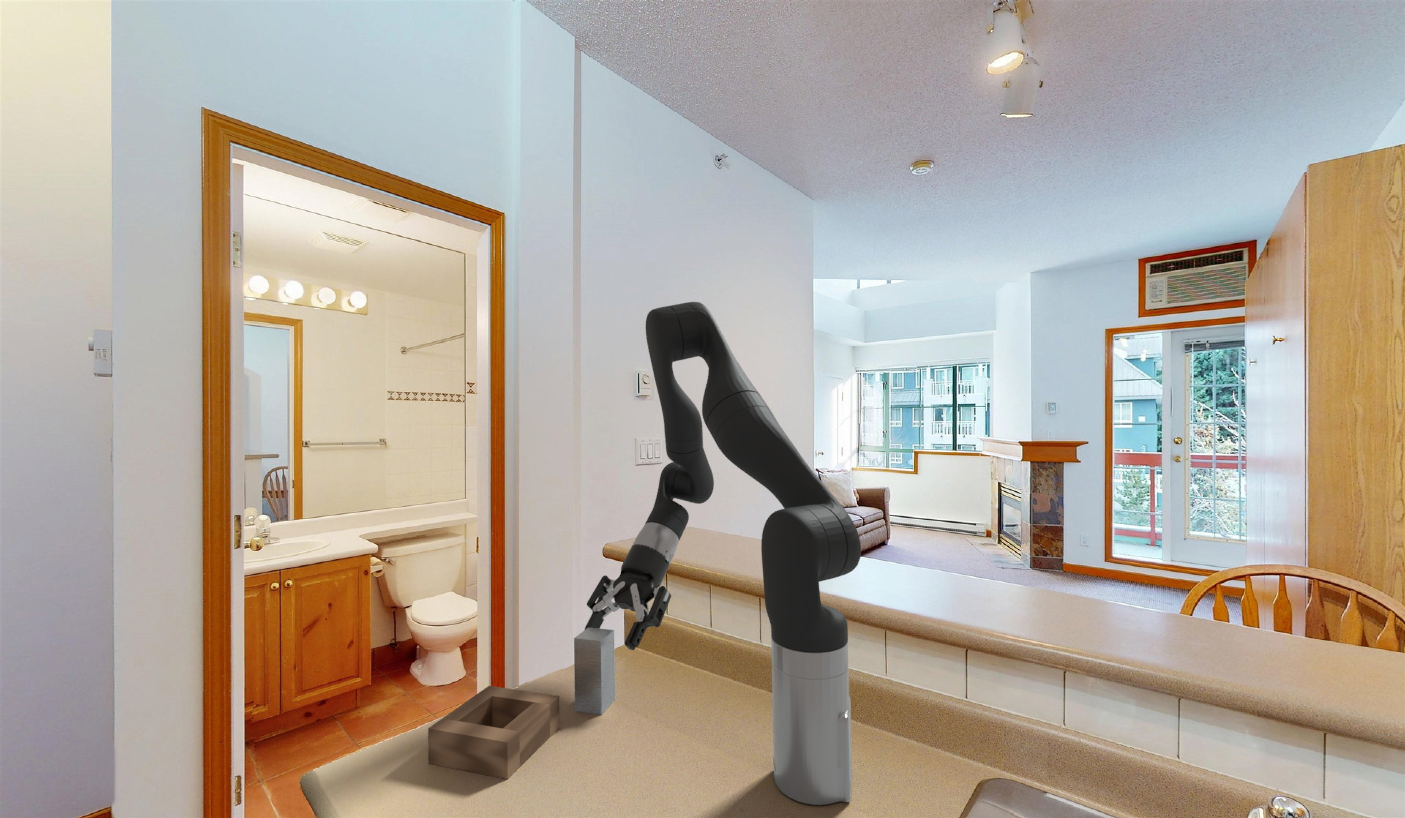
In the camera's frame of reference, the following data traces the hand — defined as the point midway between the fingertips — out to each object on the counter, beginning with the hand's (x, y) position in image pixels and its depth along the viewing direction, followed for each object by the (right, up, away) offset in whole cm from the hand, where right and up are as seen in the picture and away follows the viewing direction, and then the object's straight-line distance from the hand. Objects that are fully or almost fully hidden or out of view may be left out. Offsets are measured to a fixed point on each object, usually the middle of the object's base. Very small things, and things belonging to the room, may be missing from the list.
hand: (608, 642), depth 89 cm
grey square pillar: (-2, -9, -3) cm, 9 cm away
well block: (-13, -9, -13) cm, 20 cm away
